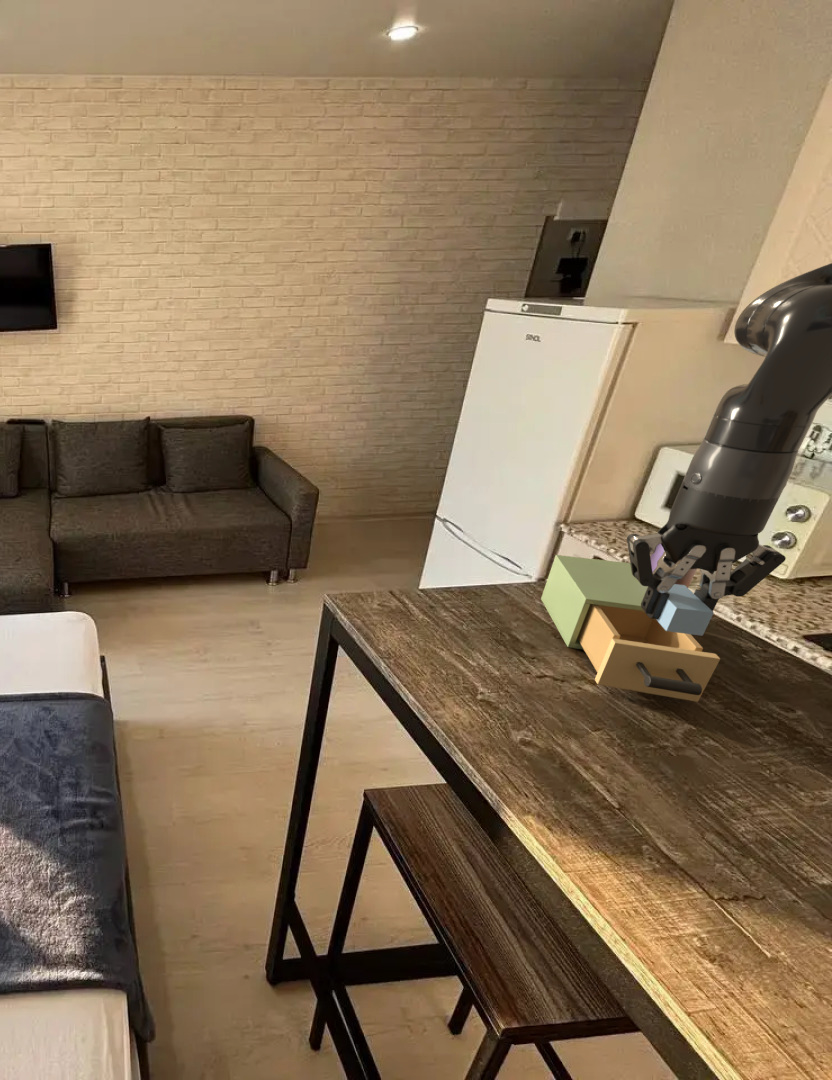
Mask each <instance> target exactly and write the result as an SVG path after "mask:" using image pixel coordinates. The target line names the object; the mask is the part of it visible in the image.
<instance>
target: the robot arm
mask: <svg viewBox="0 0 832 1080" xmlns="http://www.w3.org/2000/svg"><path fill="white" fill-rule="evenodd" d="M733 333H734V338H735V341H736V342H737V344H738V345H739V347H741V348H742V349H744V350H745V351H746V352H748V353H750V354H753V355H756V356H759V357H763V361H762V362H761V364H760V365H759V368H758V369H757V370H756V371H755V373H754V375H753V376H752V377H751V379H750V381H749V382H748V383H744V384H743V383H742V384H739V385H736V386H733V387H731V388H730V389H729V390H727V391H725V393H724V394H723V395H722V397H721V399H720V400H719V402H718V403H717V406H716V408H715V411H714V413H713V415H712V418H711V419H710V423H709V425H708V427H707V430H706V432H705V434H704V438H703V439H702V441H701V443H700V445H699V446H698V448H697V449H696V451H695V452H694V454H693V456H692V458H691V460H690V462H689V465H688V468H687V469H686V472H685V475H684V477H683V480H682V482H681V484H680V487H679V489H678V491H677V494H676V497H675V499H674V502H673V504H672V506H671V509H670V511H669V516H668V520H667V522H666V523H665V524H664V525H663V526H662V527H660V528H659V530H658V531H657V533H652V534H646V535H639V534H638V533H630V534H628V536H627V537H626V542H627V551H628V557H629V563H630V564H631V571H632V575H633V576H634V577H635V578H636V579H637V580H638V581H639V583H640V584H641V585H642V586H648V588H647V590H646V593H645V595H644V597H643V600H642V602H641V608H642V609H643V610H644V612H645V613H646V614H647V616H648V617H649V618H652V619H659V617H660V615H661V612H662V610H663V608H664V606H665V603H666V601H667V599H668V598H669V595H670V594H669V593H668V591H669V590H670V589H671V588H672V586H673V585H674V584H675V583H676V581H677V580H678V579H681V578H683V577H684V576H685V575H686V573H687V572H688V571H689V570H690V569H697V570H698V569H699V572H700V579H699V586H698V587H699V588H700V589H698V588H697V589H695V590H694V592H693V593H694V594H695V595H696V596H697V597H698V598H699V599H700V600H701V601H702V602H703V603H704V604H705V605H706V606H707V607H708V608H710V609H711V610H712V611H713V612H714V610H715V608H716V607H717V604H718V602H719V600H720V599H722V598H723V597H726V596H733V597H738V598H739V597H744V596H745V595H746V594H748V593H749V592H750V591H751V590H752V589H754V588H755V587H756V586H757V585H758V584H759V583H760V582H762V581H763V580H765V578H767V577H768V576H769V575H770V574H771V573H773V572H774V571H775V570H776V569H778V568H779V567H780V566H781V565H782V564H783V563H784V562H785V561H786V559H787V558H786V555H784V554H782V553H781V552H780V551H778V550H776V549H775V548H774V547H772V546H771V545H768V544H763V545H762V544H760V540H759V534H760V533H762V532H763V531H764V530H765V528H766V525H767V524H768V521H769V520H770V518H771V515H772V513H773V511H774V509H775V507H776V505H777V504H778V501H779V500H780V497H781V496H782V493H783V491H784V490H785V488H786V486H787V483H788V481H789V479H790V477H791V475H792V473H793V470H794V466H795V463H796V459H797V455H798V454H799V450H800V449H801V446H802V445H803V443H804V440H805V438H806V436H807V434H808V432H809V430H810V429H811V426H812V424H813V422H814V420H815V417H816V415H817V412H818V411H819V410H820V408H822V406H823V405H824V404H825V402H827V401H828V400H829V399H830V398H831V397H832V262H831V263H828V264H825V265H822V266H820V267H817V268H814V269H812V270H809V271H807V272H804V273H801V274H799V275H797V276H794V277H792V278H790V279H788V280H786V281H783V282H781V283H779V284H777V285H776V286H773V287H772V288H769V289H768V290H767V291H764V292H763V293H762V294H760V295H759V296H757V297H756V298H755V299H753V300H752V301H751V302H749V304H748V305H747V306H746V307H745V308H744V309H743V310H742V311H741V313H740V314H739V316H738V317H737V319H736V321H735V325H734V331H733ZM659 544H661V545H662V547H663V549H664V551H665V552H664V553H663V555H662V556H661V557H660V559H659V560H658V562H657V567H656V568H655V570H654V571H653V572H652V565H651V558H650V556H651V554H654V553H655V550H656V547H657V545H659ZM743 558H745V559H744V560H743V561H742V562H740V563H739V564H738V565H737V566H736V567H735V568H734V569H733V570H732V568H733V564H734V563H736V562H738V561H739V560H741V559H743Z"/></svg>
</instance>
